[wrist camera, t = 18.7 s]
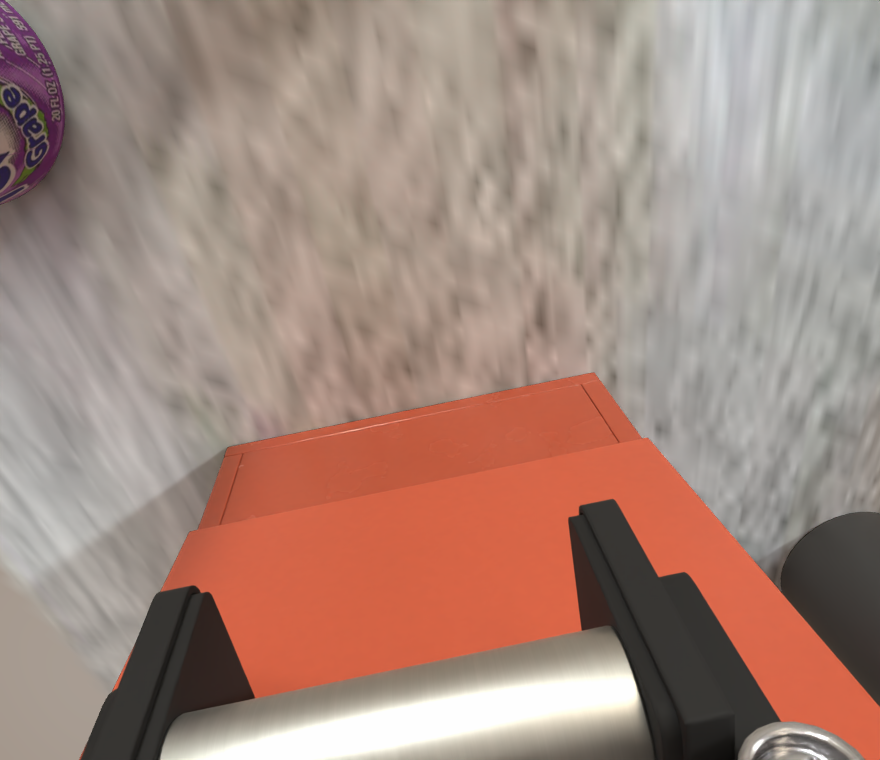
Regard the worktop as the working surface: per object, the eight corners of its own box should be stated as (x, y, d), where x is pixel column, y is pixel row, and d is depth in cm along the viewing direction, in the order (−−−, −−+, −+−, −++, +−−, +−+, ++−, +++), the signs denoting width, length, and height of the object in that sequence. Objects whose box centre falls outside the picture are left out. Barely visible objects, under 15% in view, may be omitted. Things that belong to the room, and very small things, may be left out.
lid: (1157, 1079, 8) (1271, 699, 6) (-166, 1362, 8) (-494, 1069, 6) (650, 457, 23) (634, 291, 21) (196, 550, 23) (138, 393, 21)
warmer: (619, 643, 36) (663, 744, 30) (321, 705, 36) (312, 817, 30) (594, 371, 29) (644, 440, 24) (226, 446, 29) (195, 532, 24)
